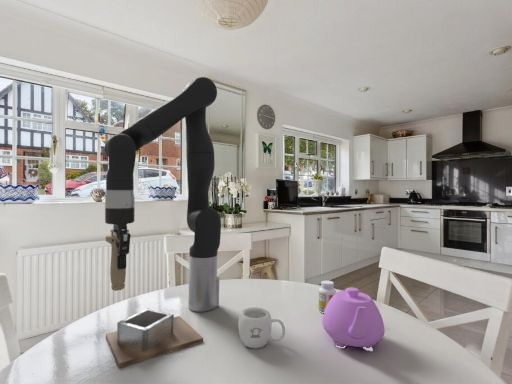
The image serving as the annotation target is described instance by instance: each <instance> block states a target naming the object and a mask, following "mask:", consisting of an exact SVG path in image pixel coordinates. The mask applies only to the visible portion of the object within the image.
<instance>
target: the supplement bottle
mask: <svg viewBox="0 0 512 384" xmlns="http://www.w3.org/2000/svg"><path fill="white" fill-rule="evenodd" d="M320 284H321V285H320V286H321V287H319V289H318V311H319V310H320V311H321V312H324V311H325V308H326V306H327V304H328V303H329V301H330V300H331V298H332V297H333V296H334V294H335V293H337V291H336V289H335V288H334V287H335V283H334V281H332V280H322V281H321V283H320ZM321 312H320V313H321Z"/></svg>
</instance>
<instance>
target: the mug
mask: <svg viewBox="0 0 512 384" xmlns="http://www.w3.org/2000/svg"><path fill="white" fill-rule="evenodd" d="M272 323H279V324H280V326H281V330H282V331H281V336H280V337H273V336H271V334H272V333H271V332H272V327H273V326H272ZM238 333H239V338H240V341H241V342H242V344H243V345H244V346H245V347H247V348H250V349H261V348H263V347H265V346H266V345H267V343H268V342H269V340H271V341H272V342H280V341H281V340H283V339H284V337H285V334H286V327H285V325H284V322H283V321H282V320H281V319H278V318H273V319H272V316H271V312H270V311H268V310H267V309H266V308H262V307H247V308H245V309H242V310H241V311H240V313H239V316H238Z"/></svg>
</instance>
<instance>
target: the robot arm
mask: <svg viewBox="0 0 512 384" xmlns="http://www.w3.org/2000/svg"><path fill="white" fill-rule="evenodd" d="M217 96H218V89H217V85H216V84H215V82H214V81H213V80H212V79H210V78H208V77H206V76H205V77H204V76H200V77H196V78H194V79H192V80H191V81H190V82H188V83H187V84H186V85H185V86H184V88H183V90H182V92H181V93H179V95H177V96H176V97H174V98H173V99H171V100H170V101H168V102H166V103H164V104H162V105H161V106H159V107H157V108H156V109H153V110H152V111H150V112H149V113H147V114H146V115H144V116H142V117H141V118H139V119H138V120H136V121H135V122H134V123H133V124H132V125H130V126H129V127H128V128H126V129H124V130H122V131H121V132H119V133H117V134H114V135H113V136H111V137H110V138H109V139H107V141H106V142H105V145H104V153H105V155H106V156H107V157H108V170H107V172H106V180H105V187H106V191H105V198H104V199H105V200H104V201H105V202H104V205H105V207H104V217H105V218H104V220H105V221H104V222H105V224H107V225H113V227H112V229H110V235H112V236H113V237H118V240H119V244H118V243H117V241H116V239H115V247H116V248H117V268H118V269H125V268H126V269H127V255H128V254H130V245H131V243H130V242H131V233H130V230H129V229H128V224H132V223H134V222H135V193H134V189H135V187H134V185H135V184H134V183H135V182H134V171H135V165H136V157H137V151H138V150H140V149H141V148H143V147H144V146H146V145H148V144H150V143H152V142H153V141H155V140H157V139H158V138H159V137H161V136H162V135H163V134H165V133H166V132H167V131H168V130H170V129H171V128H172V127H174V126H175V125H176V124H177V123H180V121H182V120H183V119H185V144H186V145H185V146H186V147H185V155H186V156H185V157H186V158H185V159H186V170H187V173H186V175H187V176H186V177H187V191H188V192H187V195H188V197H187V210H186V223H187V227H188V228H189V230H190V231H191V232H193V233H194V240H193V244H192V245H191V246H190V248H189V259H188V261H189V264H188V265H189V266H188V268H189V269H188V271H189V272H188V301H187V303H188V305H187V306H188V309H189V310H190V311H193V312H197V313H198V312H199V313H200V312H201V313H202V312H203V313H204V312H209V311H213V310H215V308H217V307H219V306H220V277H218V251H219V248H220V244H221V234H222V220H221V216H220V213H219V212H218V210H216V209H215V208H213V207H210V204H209V203H210V202H209V192H210V191H209V190H210V186H211V184H212V183H211V182H212V179H213V176H214V173H215V149H214V144H213V140H212V138H211V136H210V134H209V132H208V131H209V130H208V128H207V121H206V120H207V117H206V116H207V115H206V113H207V108H208V107H209V106H211V105H212V104H213V103H214V102H215V101H216V99H217ZM122 247H124V250H121V249H122Z"/></svg>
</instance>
